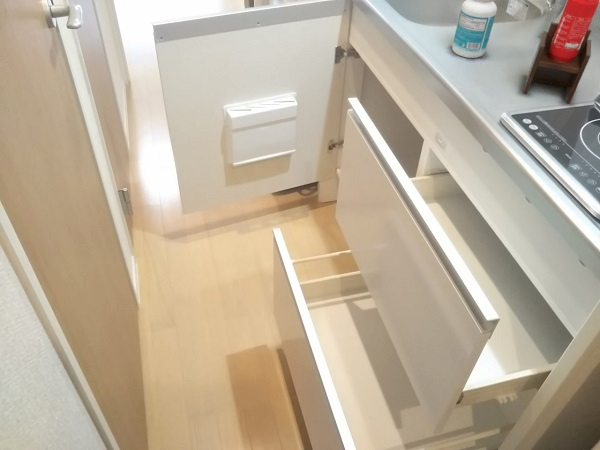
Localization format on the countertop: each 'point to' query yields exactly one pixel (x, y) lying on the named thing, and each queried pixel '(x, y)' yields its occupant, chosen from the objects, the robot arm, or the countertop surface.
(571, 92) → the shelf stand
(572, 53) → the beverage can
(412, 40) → the countertop surface
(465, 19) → the pill bottle
